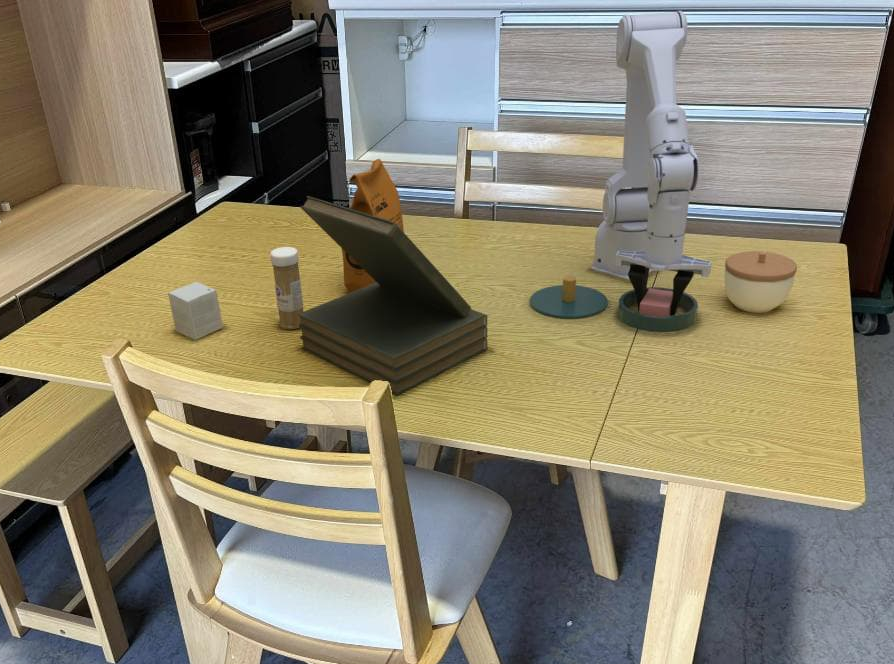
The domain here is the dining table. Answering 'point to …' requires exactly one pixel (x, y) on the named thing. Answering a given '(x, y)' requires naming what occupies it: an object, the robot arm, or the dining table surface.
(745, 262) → the trinket box
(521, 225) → the dining table surface
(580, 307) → the lid
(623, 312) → the tin
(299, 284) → the sprinkles bottle
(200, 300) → the product box
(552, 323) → the dining table surface
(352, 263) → the coffee package
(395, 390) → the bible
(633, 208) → the robot arm
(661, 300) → the soap
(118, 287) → the dining table surface
